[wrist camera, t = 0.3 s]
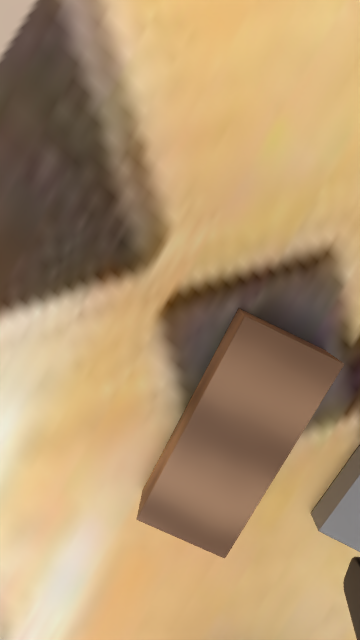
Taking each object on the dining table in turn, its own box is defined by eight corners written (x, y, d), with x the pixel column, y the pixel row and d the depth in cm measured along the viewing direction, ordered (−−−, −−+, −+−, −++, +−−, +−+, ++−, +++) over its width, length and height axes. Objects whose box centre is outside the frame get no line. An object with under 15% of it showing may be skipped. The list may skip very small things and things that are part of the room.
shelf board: (220, 520, 24) (224, 558, 21) (143, 486, 24) (136, 519, 21) (323, 348, 21) (344, 364, 18) (237, 306, 21) (245, 315, 18)
